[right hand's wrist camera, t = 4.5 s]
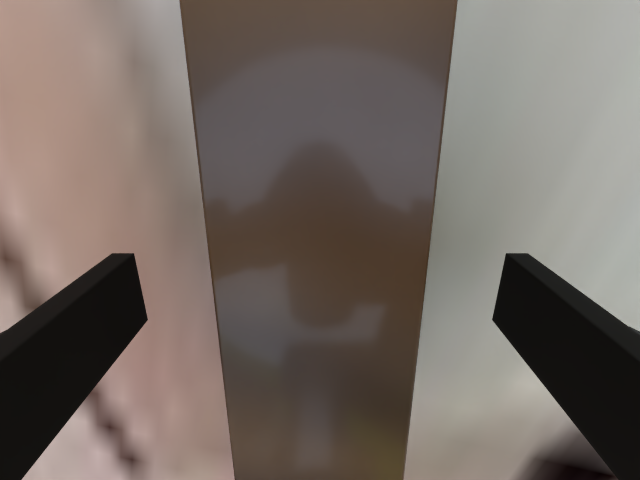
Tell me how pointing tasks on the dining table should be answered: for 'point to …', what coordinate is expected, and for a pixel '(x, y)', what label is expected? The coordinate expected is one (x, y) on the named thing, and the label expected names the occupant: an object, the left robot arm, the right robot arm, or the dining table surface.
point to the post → (318, 220)
